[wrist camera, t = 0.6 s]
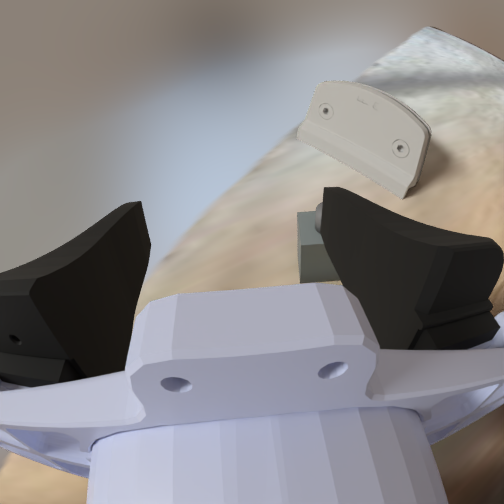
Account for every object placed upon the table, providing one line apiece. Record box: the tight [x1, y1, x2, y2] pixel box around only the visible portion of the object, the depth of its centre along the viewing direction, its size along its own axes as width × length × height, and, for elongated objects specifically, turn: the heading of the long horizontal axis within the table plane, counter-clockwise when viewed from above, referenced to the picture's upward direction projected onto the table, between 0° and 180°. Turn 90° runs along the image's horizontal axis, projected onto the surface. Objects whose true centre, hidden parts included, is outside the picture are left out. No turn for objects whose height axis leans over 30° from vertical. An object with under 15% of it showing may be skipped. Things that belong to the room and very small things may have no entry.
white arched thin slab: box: [297, 81, 431, 199], centre depth 32 cm, size 17×5×10 cm, turn 46°
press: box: [297, 202, 344, 287], centre depth 21 cm, size 18×10×9 cm, turn 1°
